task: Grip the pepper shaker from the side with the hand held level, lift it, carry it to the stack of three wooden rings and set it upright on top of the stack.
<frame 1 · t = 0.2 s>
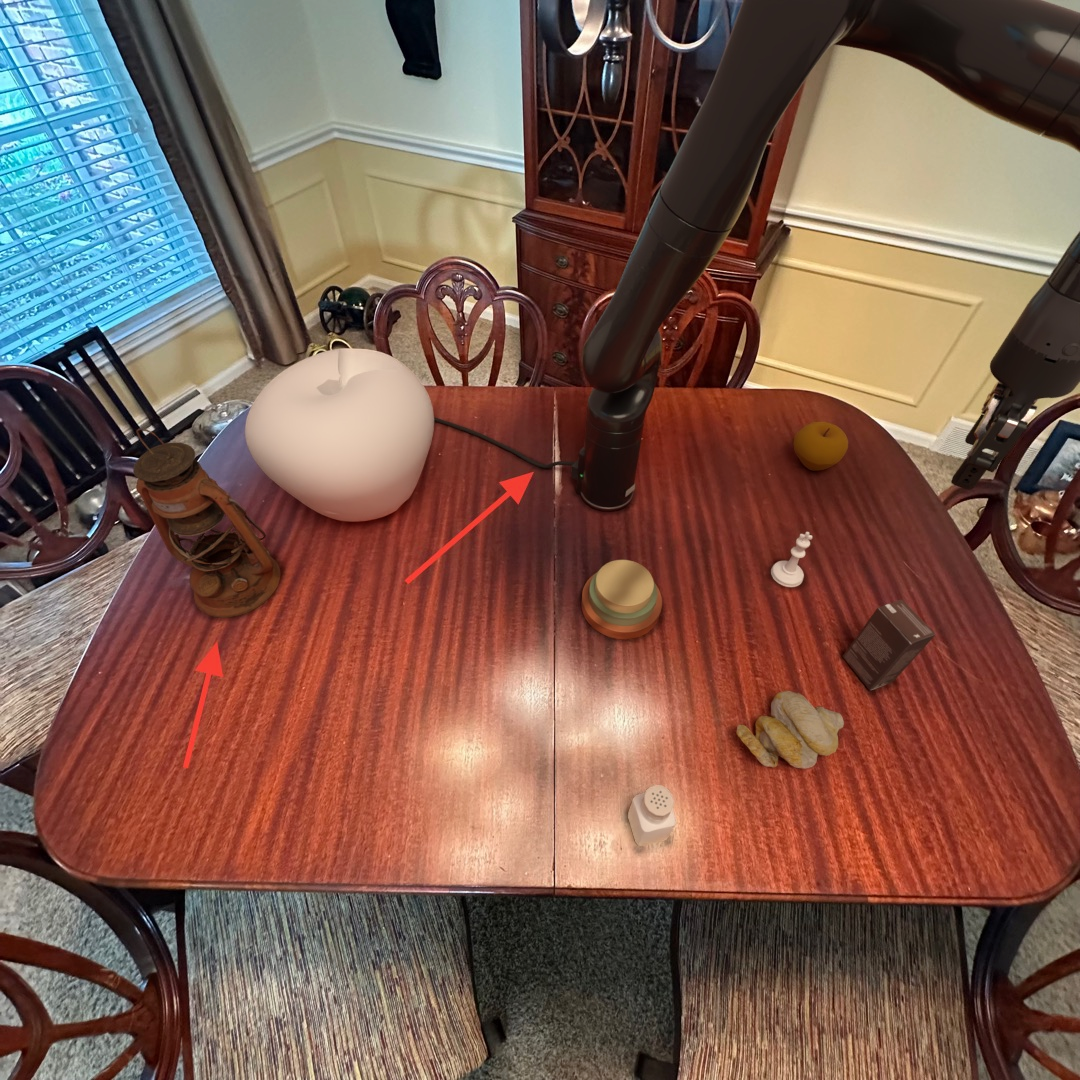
hand: (967, 464, 69), 29 cm above the table, tool pointing down, fingers open, 8 cm apart
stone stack: (786, 737, 78), on the table
lantern: (238, 584, 95), on the table
box: (866, 669, 85), on the table
apple: (810, 466, 113), on the table
pepper shaker: (647, 827, 71), on the table
chess piece: (786, 575, 96), on the table
ring stack: (620, 605, 92), on the table
pale giant fruit: (365, 498, 107), on the table
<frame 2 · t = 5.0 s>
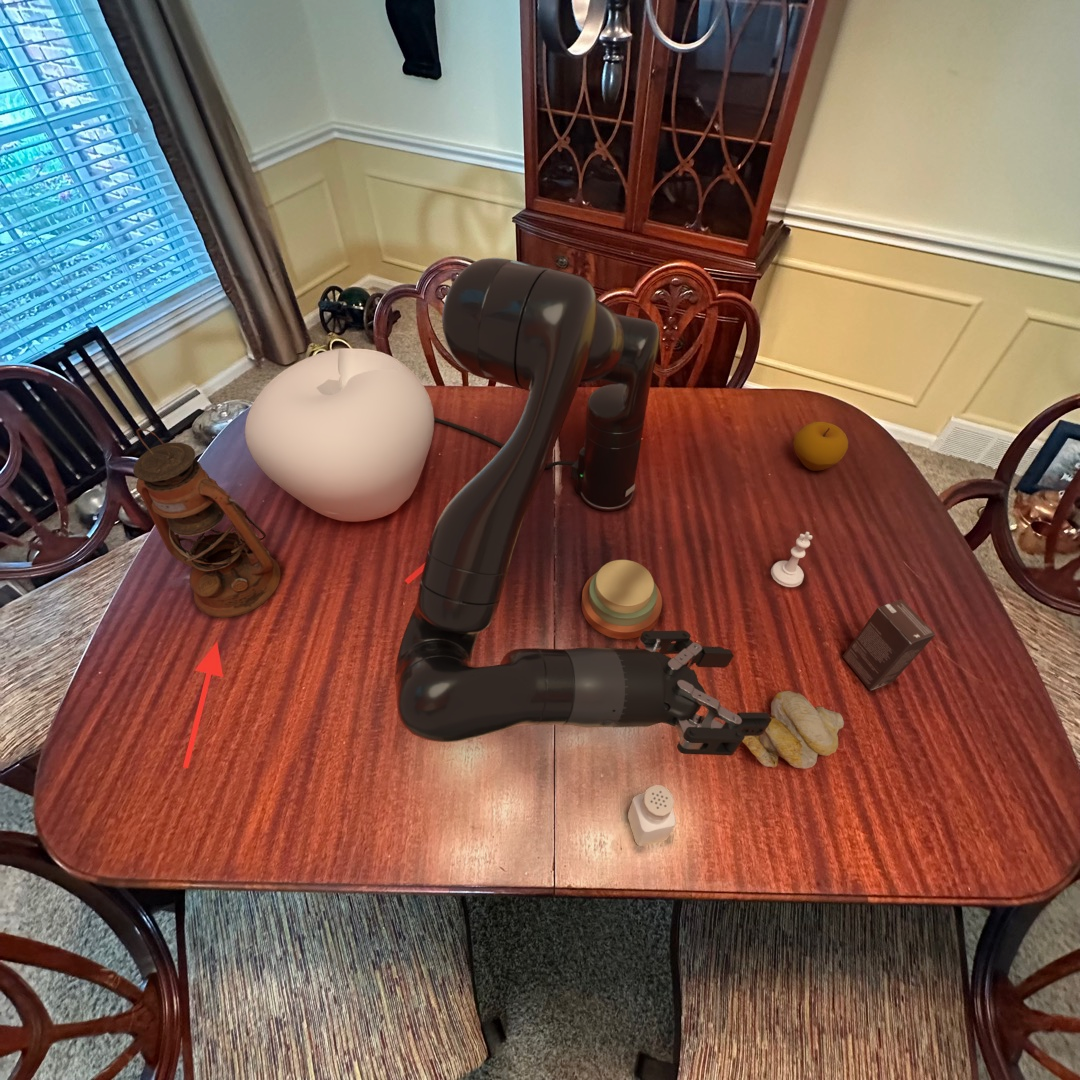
hand: (746, 688, 63), 18 cm above the table, tool tilted 75°, fingers open, 8 cm apart
nothing on the table moved.
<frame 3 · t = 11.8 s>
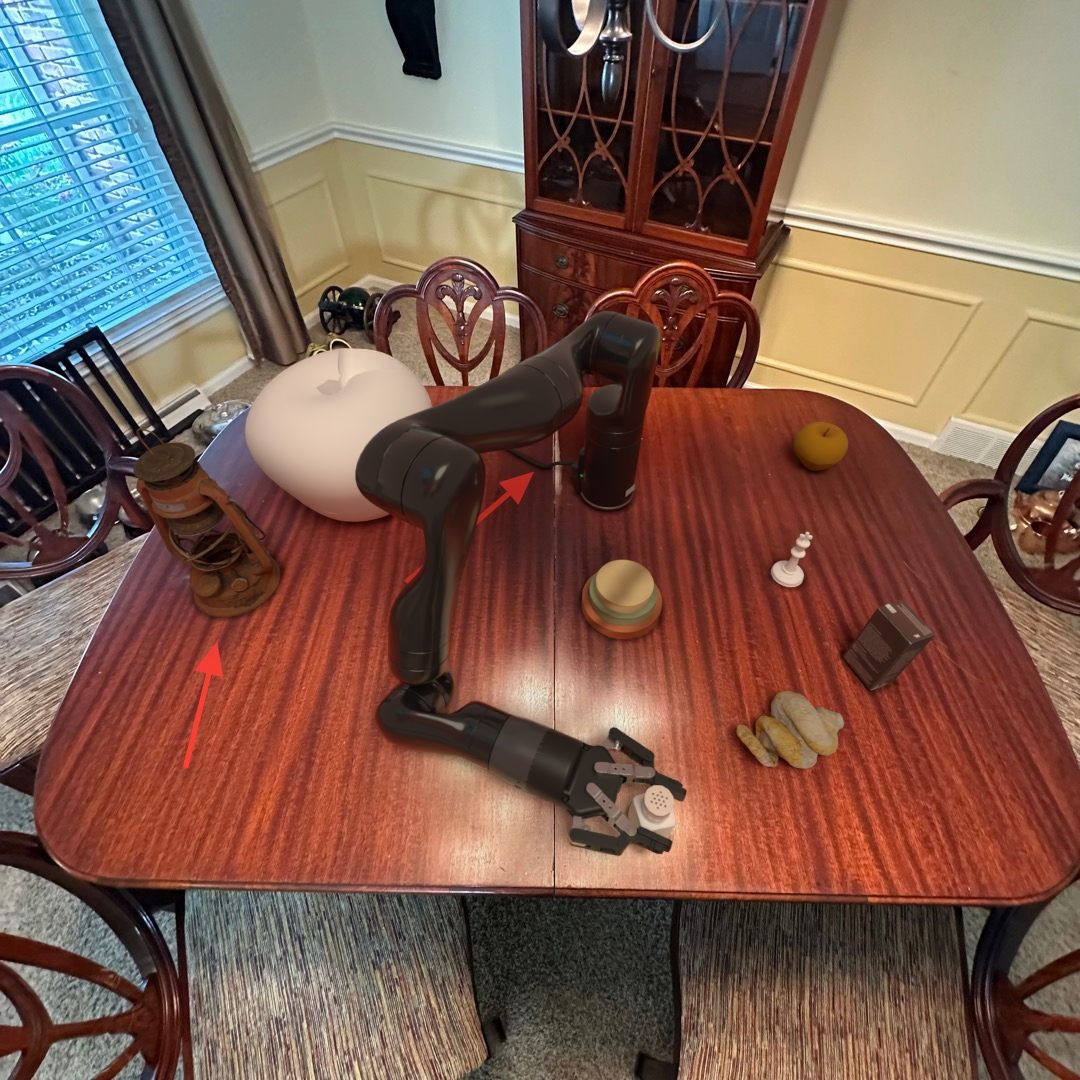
hand: (677, 820, 66), 6 cm above the table, tool horizontal, fingers closed on pepper shaker, 5 cm apart
pepper shaker: (647, 827, 71), on the table, touching gripper
everything else where it was.
when the fingers open (12 cm above the table, at t = 20.4 s): pepper shaker stays where it is, resting on ring stack.
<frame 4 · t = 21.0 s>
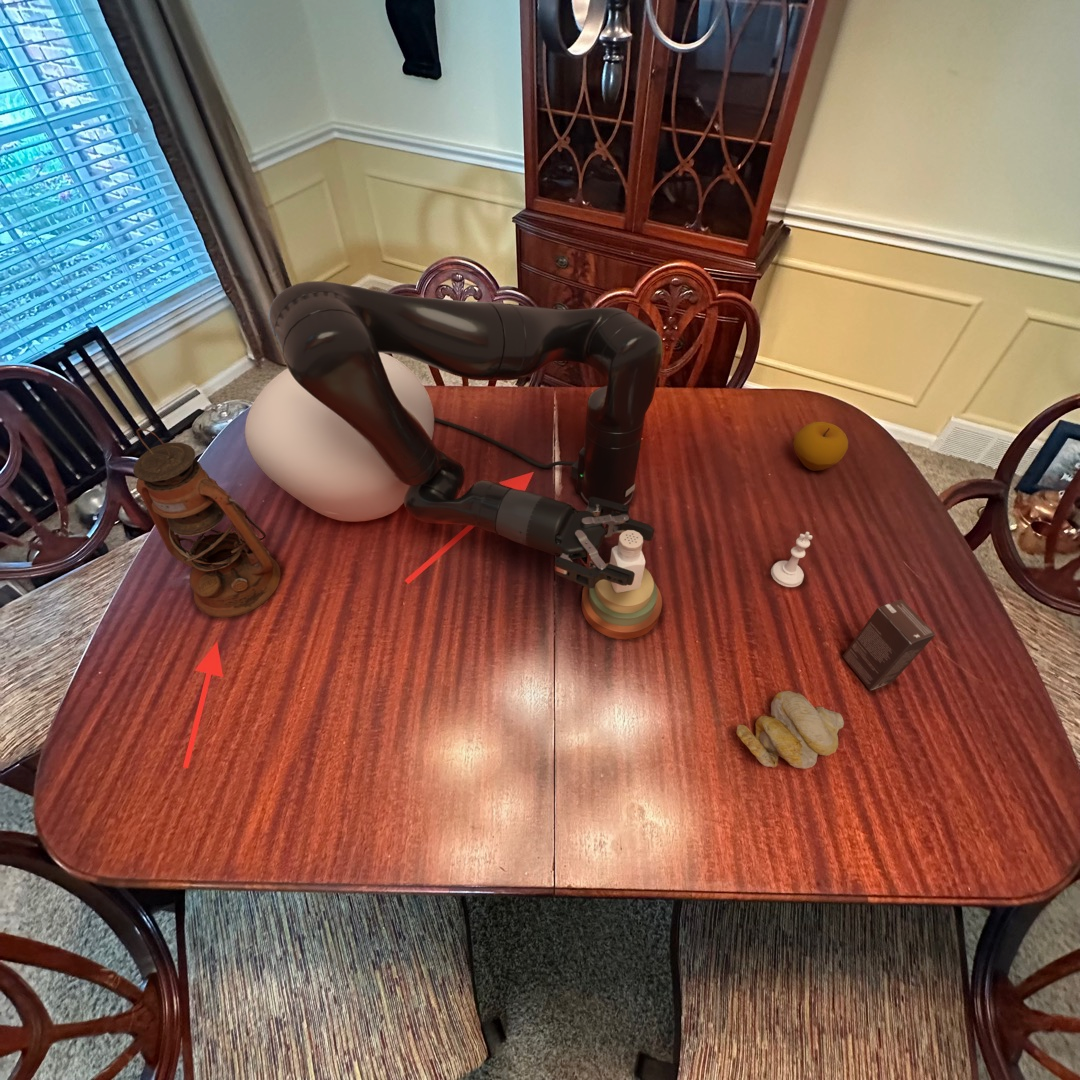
hand: (643, 556, 82), 13 cm above the table, tool horizontal, fingers open, 8 cm apart
pepper shaker: (623, 582, 87), point 6 cm above the table, touching ring stack
everything else where it was.
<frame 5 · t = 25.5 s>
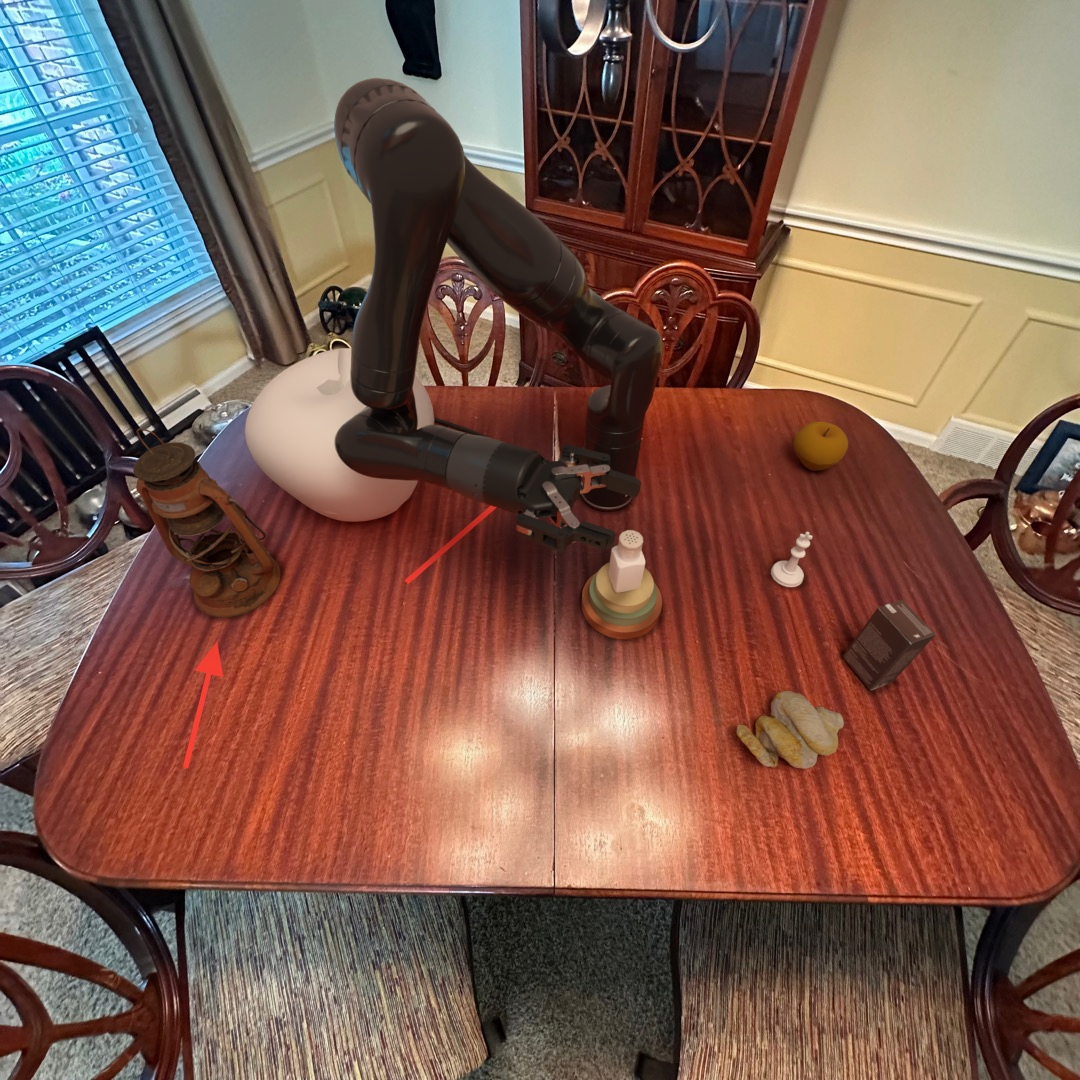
hand: (627, 513, 66), 28 cm above the table, tool horizontal, fingers open, 8 cm apart
nothing on the table moved.
at the end: pepper shaker 0.1 cm off-centre on the ring stack, point 5.8 cm above the ring stack's base; pepper shaker tilted 0°; the gripper is holding nothing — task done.
